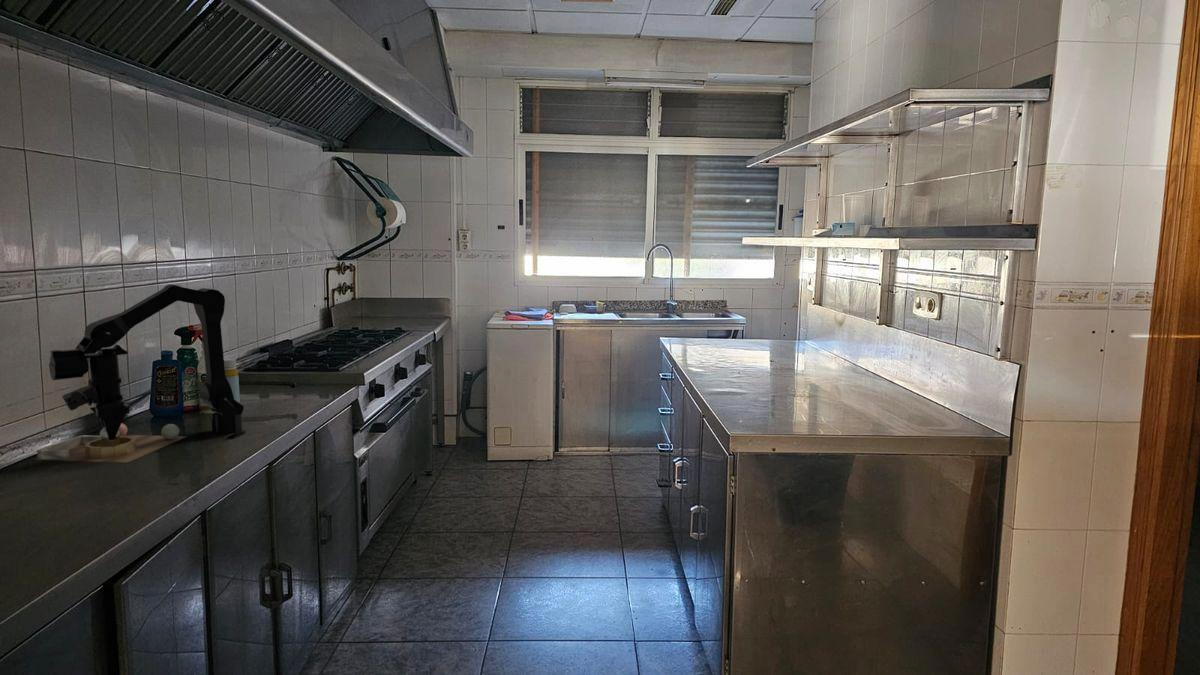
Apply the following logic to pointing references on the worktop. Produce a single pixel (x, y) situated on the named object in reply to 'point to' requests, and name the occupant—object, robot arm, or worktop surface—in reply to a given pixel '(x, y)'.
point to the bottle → (232, 376)
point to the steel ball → (105, 437)
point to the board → (76, 452)
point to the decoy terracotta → (123, 429)
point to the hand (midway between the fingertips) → (110, 437)
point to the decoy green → (170, 431)
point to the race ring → (110, 447)
